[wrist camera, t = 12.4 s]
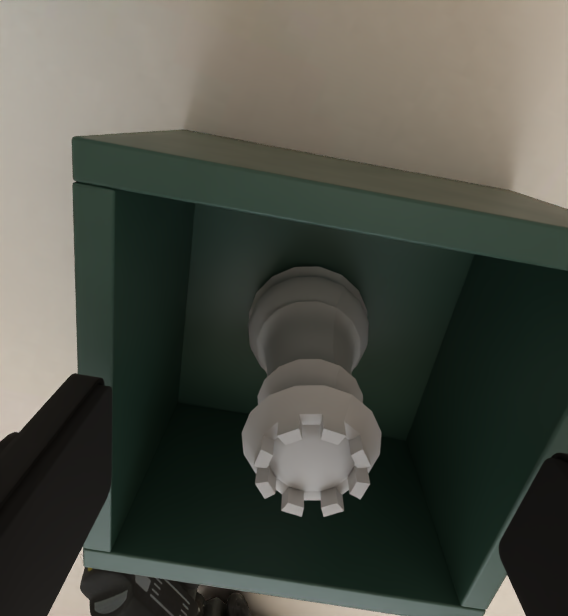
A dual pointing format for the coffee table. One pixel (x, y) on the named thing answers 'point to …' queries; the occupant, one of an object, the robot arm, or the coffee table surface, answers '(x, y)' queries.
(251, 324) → the rook chess piece
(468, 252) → the bin
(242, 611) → the toy train
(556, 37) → the coffee table surface
